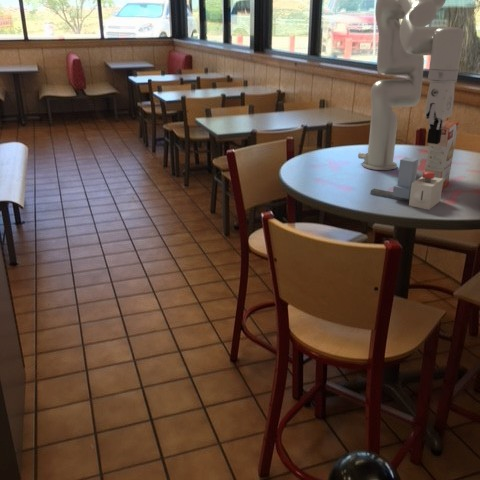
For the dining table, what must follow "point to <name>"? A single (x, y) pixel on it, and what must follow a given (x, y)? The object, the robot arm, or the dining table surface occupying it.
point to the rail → (386, 194)
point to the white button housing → (425, 193)
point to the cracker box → (442, 152)
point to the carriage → (405, 177)
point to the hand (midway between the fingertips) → (433, 142)
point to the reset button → (428, 176)
